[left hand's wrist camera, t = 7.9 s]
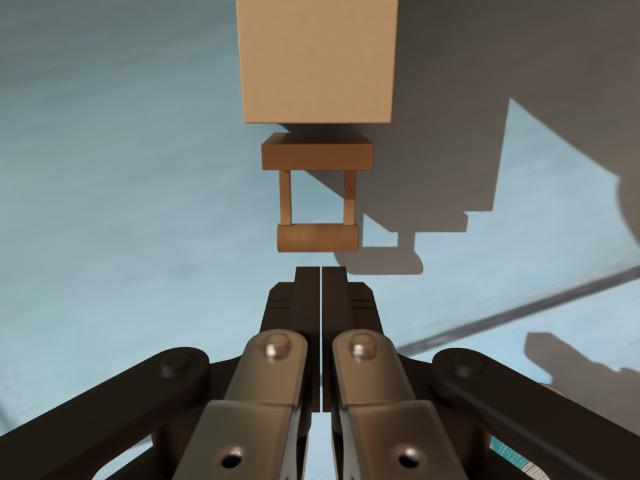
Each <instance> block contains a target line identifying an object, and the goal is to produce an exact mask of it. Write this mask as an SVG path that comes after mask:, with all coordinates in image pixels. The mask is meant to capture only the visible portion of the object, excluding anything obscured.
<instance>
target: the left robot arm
mask: <svg viewBox="0 0 640 480" xmlns="http://www.w3.org/2000/svg"><path fill="white" fill-rule="evenodd" d="M322 392H323V412H331V443H332V451H333V459H334V467H335V476H336V480H535V479H533V478H532V477H531V476H529V475H528V474H526V473H525V472H523V471H522V470H521V469H519V468H518V467H516V466H515V465H514V464H512V463H511V462H509V461H508V460H506V459H505V458H504V457H502V456H501V455H499V454H498V453H497V452H495V451H494V450H492V449H491V448H490V443H491V438H492V436H493V437H495V438H496V439H498V440H499V441H501V442H502V443H504V444H505V445H507V446H508V447H509V448H511V449H512V450H514V451H515V452H517V453H518V454H520V455H521V456H523V457H524V458H526V459H527V460H529V461H530V462H532V463H533V464H534V465H536V466H537V467H539V468H540V469H541V470H542V471H543V472H544V473H545V474H546V475H547V477H548V478H549V479H550V480H640V436H638V435H636V434H634V433H632V432H630V431H628V430H626V429H624V428H622V427H621V426H619V425H617V424H615V423H613V422H611V421H609V420H607V419H605V418H604V417H602V416H600V415H598V414H596V413H594V412H592V411H590V410H588V409H586V408H585V407H583V406H581V405H579V404H577V403H575V402H573V401H571V400H569V399H567V398H566V397H564V396H562V395H560V394H558V393H556V392H554V391H552V390H550V389H549V388H547V387H545V386H543V385H541V384H539V383H537V382H535V381H533V380H531V379H530V378H528V377H526V376H524V375H522V374H520V373H518V372H516V371H514V370H513V369H511V368H509V367H507V366H505V365H503V364H501V363H499V362H497V361H495V360H494V359H492V358H490V357H488V356H486V355H484V354H482V353H480V352H477V351H474V350H470V349H465V348H448V349H444V350H441V351H439V352H438V353H437V354H435V356H434V357H433V360H432V363H427V362H423V361H418V360H414V359H410V358H407V357H405V356H402V355H400V354H399V353H397V352H396V349H395V347H394V345H393V343H392V341H391V340H390V339H389V338H388V337H386V336H385V335H384V333H383V329H382V326H381V322H380V318H379V314H378V310H377V307H376V303H375V299H374V295H373V291H372V290H371V289H370V288H369V287H368V286H367V285H366V284H365V283H364V282H348V279H347V272H346V267H322ZM312 412H320V267H296V273H295V281H294V282H279V283H278V284H276V285H275V286H274V287H273V288H272V289H271V290H270V292H269V296H268V302H267V304H266V309H265V312H264V316H263V320H262V324H261V328H260V332H259V334H257V335H255V336H254V337H252V338H251V339H250V340H249V341H248V343H247V345H246V347H245V349H244V352H243V354H242V355H241V356H239V357H236V358H233V359H230V360H226V361H221V362H216V363H211V364H210V363H209V358H208V356H207V354H206V353H205V352H203V351H202V350H200V349H197V348H192V347H178V348H172V349H168V350H165V351H162V352H160V353H158V354H156V355H154V356H152V357H150V358H148V359H146V360H145V361H143V362H141V363H139V364H137V365H135V366H133V367H131V368H129V369H127V370H126V371H124V372H122V373H120V374H118V375H116V376H114V377H112V378H110V379H109V380H107V381H105V382H103V383H101V384H99V385H97V386H95V387H93V388H91V389H90V390H88V391H86V392H84V393H82V394H80V395H78V396H76V397H74V398H73V399H71V400H69V401H67V402H65V403H63V404H61V405H59V406H57V407H55V408H54V409H52V410H50V411H48V412H46V413H44V414H42V415H40V416H38V417H37V418H35V419H33V420H31V421H29V422H27V423H25V424H23V425H21V426H19V427H18V428H16V429H14V430H12V431H10V432H8V433H6V434H4V435H2V436H0V480H92V479H93V477H94V476H95V474H96V473H97V472H98V471H99V470H100V469H101V468H102V467H103V466H104V465H106V464H107V463H108V462H110V461H111V460H113V459H114V458H116V457H117V456H119V455H120V454H122V453H123V452H125V451H126V450H128V449H129V448H131V447H132V446H133V445H135V444H136V443H138V442H139V441H141V440H142V439H144V438H145V437H147V436H148V435H150V434H151V437H152V443H153V446H152V447H151V448H149V449H148V450H146V451H145V452H143V453H142V454H141V455H139V456H138V457H136V458H135V459H134V460H132V461H131V462H129V463H128V464H126V465H125V466H124V467H122V468H121V469H119V470H118V471H117V472H115V473H114V474H112V475H111V476H109V477H108V478H107V479H105V480H304V476H305V467H306V459H307V451H308V443H309V430H310V427H311V418H312Z"/></svg>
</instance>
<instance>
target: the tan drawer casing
mask: <svg viewBox="0 0 640 480" xmlns="http://www.w3.org/2000/svg"><path fill="white" fill-rule="evenodd" d="M398 2H399V0H236V10H237V25H238V41H239V57H240V73H241V89H242V105H243V120H244V123H391V120H392V103H393V86H394V69H395V53H396V36H397V19H398Z"/></svg>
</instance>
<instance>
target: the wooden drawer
mask: <svg viewBox="0 0 640 480" xmlns="http://www.w3.org/2000/svg"><path fill="white" fill-rule="evenodd" d="M261 150H262V169H263V170H279V185H280V213H281V224H278V227H277V248H278V252H357V251H358V225H357V224H356V223H355V191H356V170H372V169H373V152H374V145H373V144H372V143H371V142H370V141H369V140H368V139H367V138H366V137H365V136H364V135H362V134H361V133H274V134H272V135H271V136H270V137H269V138H268V139H267V140H266V141H265V142H264V143H263V144H262V145H261ZM291 170H345V172H344V218H343V222H344V223H319V224H292V207H291Z"/></svg>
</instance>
